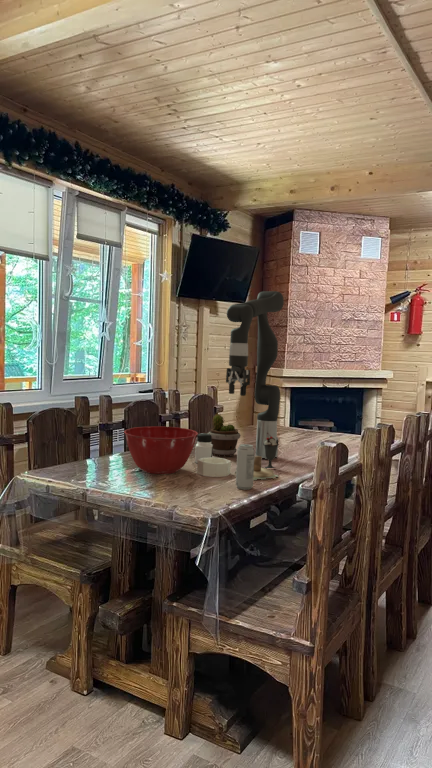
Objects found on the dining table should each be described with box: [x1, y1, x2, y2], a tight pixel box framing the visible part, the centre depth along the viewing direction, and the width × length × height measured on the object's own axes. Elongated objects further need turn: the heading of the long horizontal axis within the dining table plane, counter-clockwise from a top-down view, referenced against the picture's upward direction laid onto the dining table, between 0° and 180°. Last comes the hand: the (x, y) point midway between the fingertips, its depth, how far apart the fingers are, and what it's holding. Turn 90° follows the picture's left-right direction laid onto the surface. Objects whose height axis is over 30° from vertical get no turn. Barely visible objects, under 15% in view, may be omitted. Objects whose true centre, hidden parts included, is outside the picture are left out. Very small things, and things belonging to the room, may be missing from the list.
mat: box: [235, 471, 280, 481], centre depth 213 cm, size 12×12×1 cm
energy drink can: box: [235, 443, 256, 491], centre depth 192 cm, size 6×6×15 cm
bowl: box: [196, 456, 232, 478], centre depth 214 cm, size 12×12×5 cm
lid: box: [253, 455, 275, 478], centre depth 213 cm, size 13×13×7 cm
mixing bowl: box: [123, 425, 199, 475], centre depth 214 cm, size 28×28×15 cm
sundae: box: [263, 433, 280, 468], centre depth 227 cm, size 7×7×15 cm
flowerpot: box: [207, 411, 242, 458], centre depth 253 cm, size 14×15×20 cm
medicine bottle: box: [194, 432, 213, 464], centre depth 236 cm, size 7×7×12 cm
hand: (237, 394), depth 223 cm, fingers open, 8 cm apart
